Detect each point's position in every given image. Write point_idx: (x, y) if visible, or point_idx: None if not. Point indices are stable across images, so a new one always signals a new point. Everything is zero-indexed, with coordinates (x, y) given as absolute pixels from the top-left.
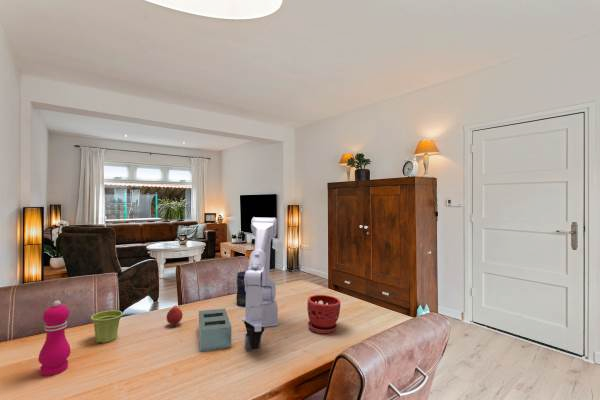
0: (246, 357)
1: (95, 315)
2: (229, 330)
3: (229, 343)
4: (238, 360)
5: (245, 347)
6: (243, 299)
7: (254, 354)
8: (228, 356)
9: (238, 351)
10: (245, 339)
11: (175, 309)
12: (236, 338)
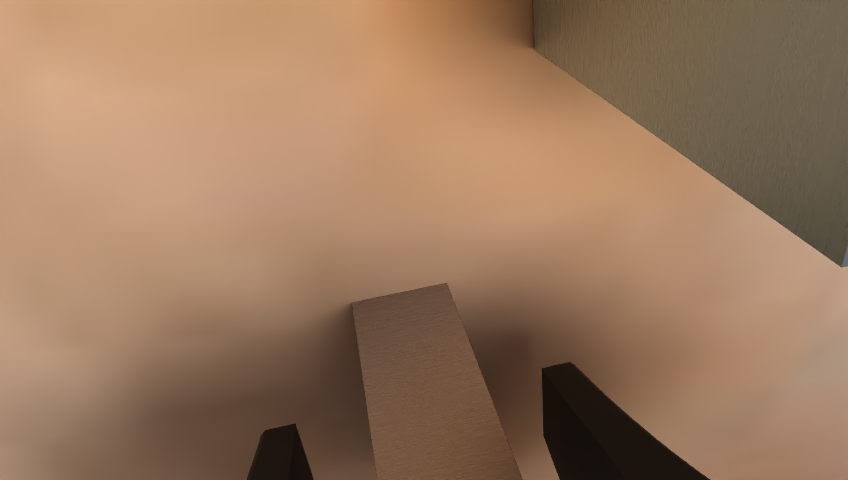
0: (133, 321)
1: None
2: (756, 137)
3: (564, 38)
4: (7, 209)
5: (418, 308)
6: None
7: (233, 411)
8: (161, 12)
9: (356, 191)
10: (469, 395)
11: None
12: None
